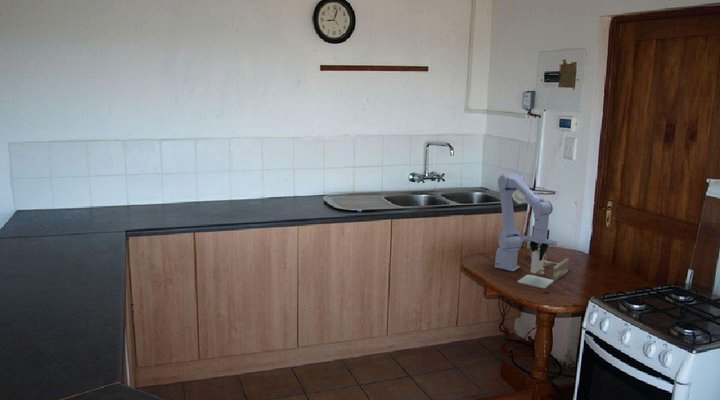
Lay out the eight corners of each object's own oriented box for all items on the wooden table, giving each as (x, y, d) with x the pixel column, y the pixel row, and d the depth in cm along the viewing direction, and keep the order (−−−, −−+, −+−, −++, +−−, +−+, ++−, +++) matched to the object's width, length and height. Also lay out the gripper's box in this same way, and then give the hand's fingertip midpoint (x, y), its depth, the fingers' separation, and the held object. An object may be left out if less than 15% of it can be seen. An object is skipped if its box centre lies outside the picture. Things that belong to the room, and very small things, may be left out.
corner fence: (523, 274, 274) (525, 261, 273) (538, 264, 289) (539, 252, 288) (555, 281, 266) (557, 268, 265) (568, 270, 281) (570, 258, 280)
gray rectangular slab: (530, 272, 259) (532, 252, 257) (538, 266, 267) (540, 247, 265) (535, 273, 258) (536, 253, 256) (543, 267, 266) (544, 248, 264)
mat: (517, 282, 262) (517, 281, 262) (527, 275, 272) (527, 274, 272) (544, 288, 256) (544, 287, 256) (553, 281, 265) (553, 280, 265)
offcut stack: (532, 273, 276) (533, 268, 276) (532, 268, 284) (533, 263, 283) (543, 275, 275) (544, 270, 274) (543, 269, 283) (543, 264, 282)
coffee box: (547, 262, 293) (550, 230, 289) (533, 261, 293) (536, 229, 290) (542, 256, 302) (545, 225, 298) (529, 256, 302) (532, 225, 299)
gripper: (521, 228, 260) (518, 258, 263) (554, 233, 252) (551, 265, 254) (526, 225, 266) (524, 254, 268) (559, 230, 257) (556, 261, 260)
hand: (537, 259), depth 262 cm, fingers closed on gray rectangular slab, 2 cm apart
